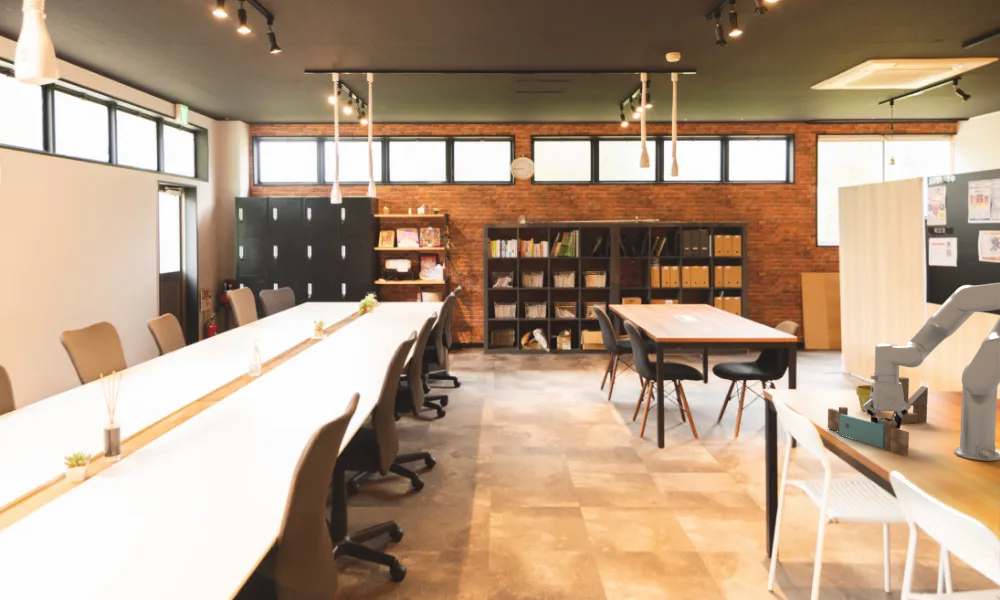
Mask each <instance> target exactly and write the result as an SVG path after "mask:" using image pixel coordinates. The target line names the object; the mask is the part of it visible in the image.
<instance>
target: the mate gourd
mask: <svg viewBox="0 0 1000 600" xmlns="http://www.w3.org/2000/svg"><path fill="white" fill-rule="evenodd" d="M904 402H905V401H904ZM895 412H896V411H893V413H892V416H891V418H890V417H879V418H878V423H879V424H882V425H885V423H886V421H894V422H895V428H897V429H898V426H897V423H896V421H895V420H894V416H895Z"/></svg>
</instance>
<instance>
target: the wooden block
mask: <svg viewBox="0 0 1000 600" xmlns="http://www.w3.org/2000/svg"><path fill="white" fill-rule="evenodd" d="M899 382H900V383H902V388H903V394H904V401H905V402H906V403H907V404H909V405H910V406H912V412H910V411H909V410H908V411H907V412H906V413H905V414H904V415H903V417H902V418H901V424H927V423H928V422H927V418H928V416H927V415H928V393H929V387H926V386H924V385H921V386H920V387H919V388H918V389H917V390H916V391H915V392H914V393H913V394H912V395H911V396H910V397H909V390H910V389H909V388H910V387H909V386H910V379H909V377H906V376H899ZM894 416H896V414H895V415H894Z"/></svg>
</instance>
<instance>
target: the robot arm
mask: <svg viewBox="0 0 1000 600" xmlns="http://www.w3.org/2000/svg"><path fill="white" fill-rule="evenodd" d="M997 310H1000V282H994V283H985V284H980V285H979V284H977V285H973V284H964V285H962V286H960V287H958V288H957V289H956V290H955V291H954V292H952V294H951V295H950V296H949V297H948V298H947V299H946V300H945V301H944V302H943V303H942V304H941V305H940V306H939V308H937V310H936V311H934V313H932V315H931V316H930V317H929V318H928V319H927V320H926V322H925V324H924V325H923V326H922V327H921V328H920V329H919V331H917V332H916V334H915V335H914V336H913V337H912V338H911V339H910V340H909V341H908V342H907V343H906V344H905V345H903V346H899V345H897V344H894V343H889V342H888V343H886V342H885V343H877V344H876V345H875V348H874V349H875V350H874V374H872V375H870V379H871V380H873V381H872V383H871V385H872V387H871V393H870V400H868V401H867V402H866V403H865V404H863V405H862V407H863V408H864V410H865V411H864V412H866V414H868V415H869V416H870V421H871V422H875V423H878V419H879V418H878V417H877V416H878V414H879V412H894V411H896V412H895V414H896V416H895V415H894V417H893V419H894V420H895V421H896V423H897V426H898V429H900V430H901V426H902V423H901V418H902V417H903V415H904V414H905V413H906V412H907V411H908V412H909V410H910V408H911V406H910V405H909V404H907V403H906V402H904V394H903V388H902V383H900V382H899V377H900V366H901V367H906V368H917V367H919V366H921V364H923V363H924V361H925V359H926V358H927V357H928V356H929V355H930V354H931V353H932V352H933V351H934V350H935V349H936V348H937V347H938V346H939V345H940V344H941V343H942V342H944V340H946V339H947V338H949V337H951V336H952V335H953V334H954V333H955V332H956V331H957V330H958V329H959V328H960V327H961V326H962V325H963V324H964V323H965V322H966V321H967V320H968V319H969V318H970V317H971V316H972V315H973V314H974V313H976V312H977V313H978V312H988V311H997ZM961 384H962V386H961V387H962V390H961V391H962V392H961V393H962V394H961V410H960V411H961V412H960V416H961V417H960V439H959V441H960V443H959V446H958V447H955V448H954V454H955V455H957V456H959V457H961V458H965V459H970V460H973V461H974V460H975V461H981V462H982V461H983V462H994V461H998V460H999V461H1000V453H999V452H997V451H996V427H997V425H996V424H997V409H998V408H997V407H998V405H997V404H998V388H999V387H998V386H999V385H1000V317H998V319H997V321H996V323H995V324H994V326H993V328H992V329H991V330H990V332H989V334H988V335H987V336H986V338H984V339H983V340H982V342H981V345H980V347H979V348H978V350H977V352H976V354H975V356H974V357H973V358H972V359H971V361H970V362H969V364H967V365H966V366H965V367H964V369H963V371H962V373H961ZM869 406H870V407H871V408H872V410H870V409H869V408H868V407H869Z"/></svg>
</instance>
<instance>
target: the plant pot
mask: <svg viewBox="0 0 1000 600" xmlns="http://www.w3.org/2000/svg"><path fill="white" fill-rule="evenodd" d="M871 387H872V384H871V385H870V384H863V385H857V386H856V389H855V390H856V391H855V392H856V393H855V394H856V396H858V401H859V406H860V410H861V411H863V410H864V408H863V407H862V405H863V404H865V403H866V402H867V401H868V400H870V393H871ZM868 408H869V409H870V410H872V408H871V407H870V406H869V407H868ZM864 412H866V411H865V410H864Z"/></svg>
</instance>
